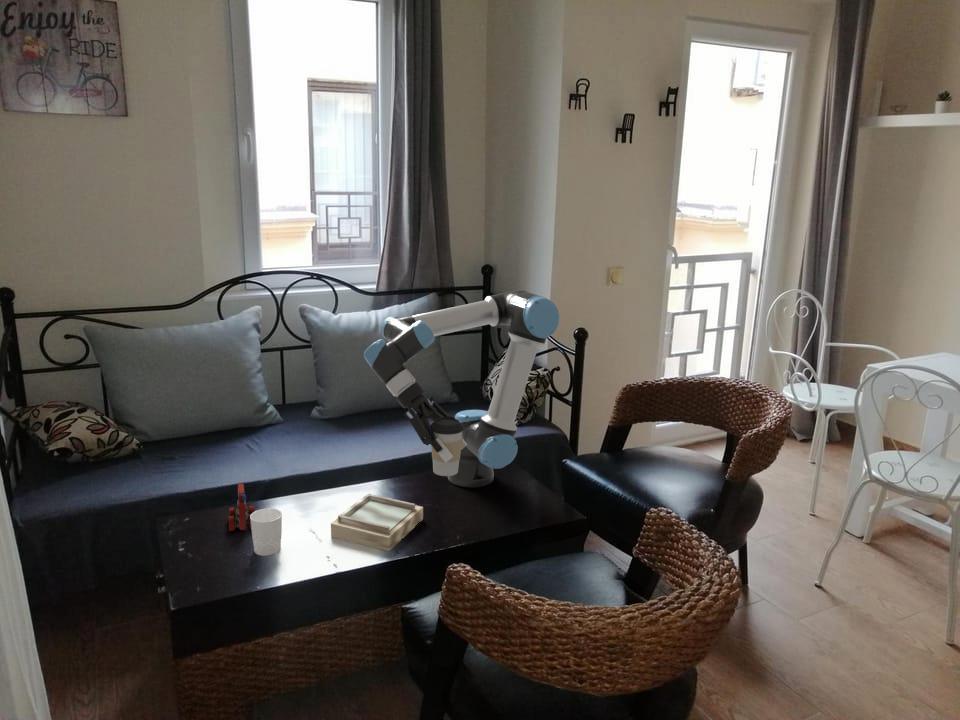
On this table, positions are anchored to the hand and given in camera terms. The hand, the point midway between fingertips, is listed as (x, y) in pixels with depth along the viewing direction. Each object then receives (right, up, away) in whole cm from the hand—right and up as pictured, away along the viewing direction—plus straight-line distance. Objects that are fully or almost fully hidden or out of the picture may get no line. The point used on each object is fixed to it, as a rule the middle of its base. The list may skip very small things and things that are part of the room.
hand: (456, 453), depth 197 cm
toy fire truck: (-60, -21, +5) cm, 64 cm away
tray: (-22, -22, +6) cm, 32 cm away
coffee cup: (-3, -5, +3) cm, 7 cm away
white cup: (-50, -24, -8) cm, 56 cm away
